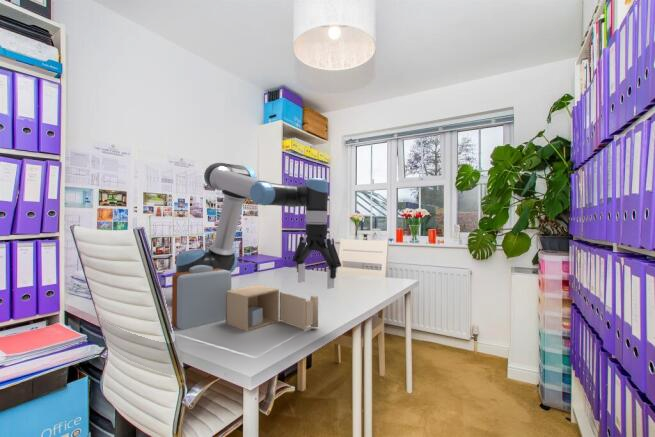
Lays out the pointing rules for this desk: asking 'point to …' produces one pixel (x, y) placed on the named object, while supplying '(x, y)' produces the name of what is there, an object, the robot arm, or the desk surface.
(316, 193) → the robot arm
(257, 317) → the contents block
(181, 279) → the grey rounded slab
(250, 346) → the desk surface
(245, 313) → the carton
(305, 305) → the flap
